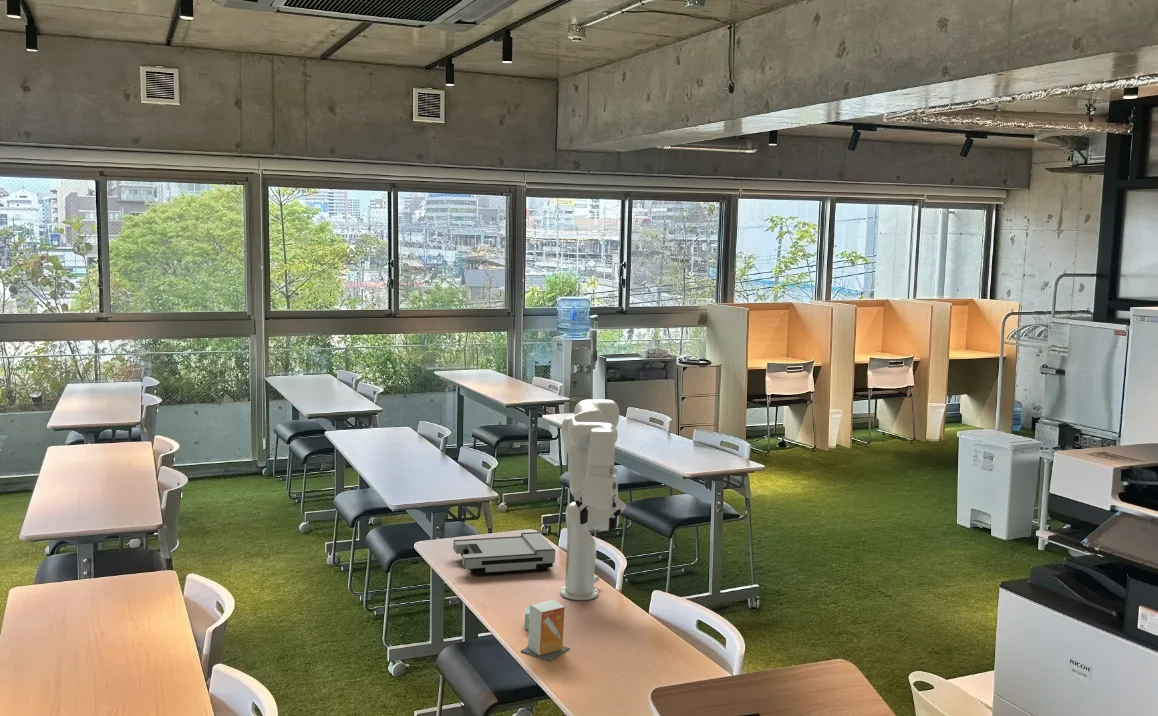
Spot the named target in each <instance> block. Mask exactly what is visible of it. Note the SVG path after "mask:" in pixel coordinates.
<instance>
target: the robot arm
mask: <svg viewBox="0 0 1158 716" xmlns="http://www.w3.org/2000/svg"><path fill="white" fill-rule="evenodd" d="M573 413H574V414H573V415H570V416H566V417H565V418H563V420H562V422H561V437H562V441H563V444H564V447H565V449H566V453H567V455H568V456H567V457H568V476H569V477H568V478H569V490H570V493H571V495H572V496H573V500H574V501H572V502H569V504H567V506H566V509H565V522H566V531H567V532H566V534H567V535H566V560H565V561H566V562H565V578H564V580H565V582H564V585H563V586H561V587H560V589H559V591H560V592H559V593H560V595H561V596H562V597H564V598H565V599H569V600H572V601H588V600H593V599H596V598H597V597H598V595H599V590H598V589H597V587H595V584H596V583H597V582H599V580H600V577H599V575H595V568H596V552H597V551H596V550H597V549H596V547H597V544H596V540H595V538H594V537H593V536H592V534H591V532H590V531H608V532H612V531H614V530H616V528H618V526H619V521H620V515H621V514H622V513H623V512H624V510H625V508H626V506H627V504H626V503H625V502H624V501H622V500H621V499H620V498H619V490H618V489H619V487H618V486H619V484H618V479H617V476H616V475H617V474H618V469H617V468H615V451H616V443H617V441H618V429H617V427H618V423H619V421H620V409H619V406H618V404H617V402H616V401H614V400H612V399H598V398H597V399H593V398H591V399H590V398H589V399H583V400H580V401H579V402H577V404H576V405H575V406H574V412H573Z"/></svg>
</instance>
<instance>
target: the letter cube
mask: <svg viewBox="0 0 1158 716" xmlns="http://www.w3.org/2000/svg"><path fill="white" fill-rule="evenodd" d="M524 610H525V611H524V630H528V631H529V615H530V606H529V607H527V606H526V607H525V608H524Z"/></svg>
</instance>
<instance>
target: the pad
mask: <svg viewBox="0 0 1158 716" xmlns="http://www.w3.org/2000/svg"><path fill="white" fill-rule="evenodd" d="M569 650H570V647H568V646H564V645H562V650H559V651H555V652H551V653H547V654H543V655H538V654H536V653H535V652H534V651H532V650H531V649H529V648H528V646H526V647H525V648H523V649H521V650H520V653H523V654H525V655H529V656H531V657H534V658H538V659H541V660H545V661H547V662H552V661H553V660H555V659H556V658H558V657H560V656H562V654H564V653H566V652H567V651H569Z"/></svg>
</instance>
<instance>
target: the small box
mask: <svg viewBox="0 0 1158 716" xmlns="http://www.w3.org/2000/svg"><path fill="white" fill-rule="evenodd" d="M529 607H530V615H529V630H528V639H527V640H528V642H527V647H528V648H529V649H531V650H532V651H534V652H535V653H536V654H538V655H543V654H547V653H551V652H555V651H559V650H562V646H564V645H563V643H564V641H563V640H564V627H565V626H564V623H565V606H563V605H562V604H561V603H559V602H558V601H556V600H554V599H551V600H546V601H540V602H537V603H533V604H530V605H529Z"/></svg>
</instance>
